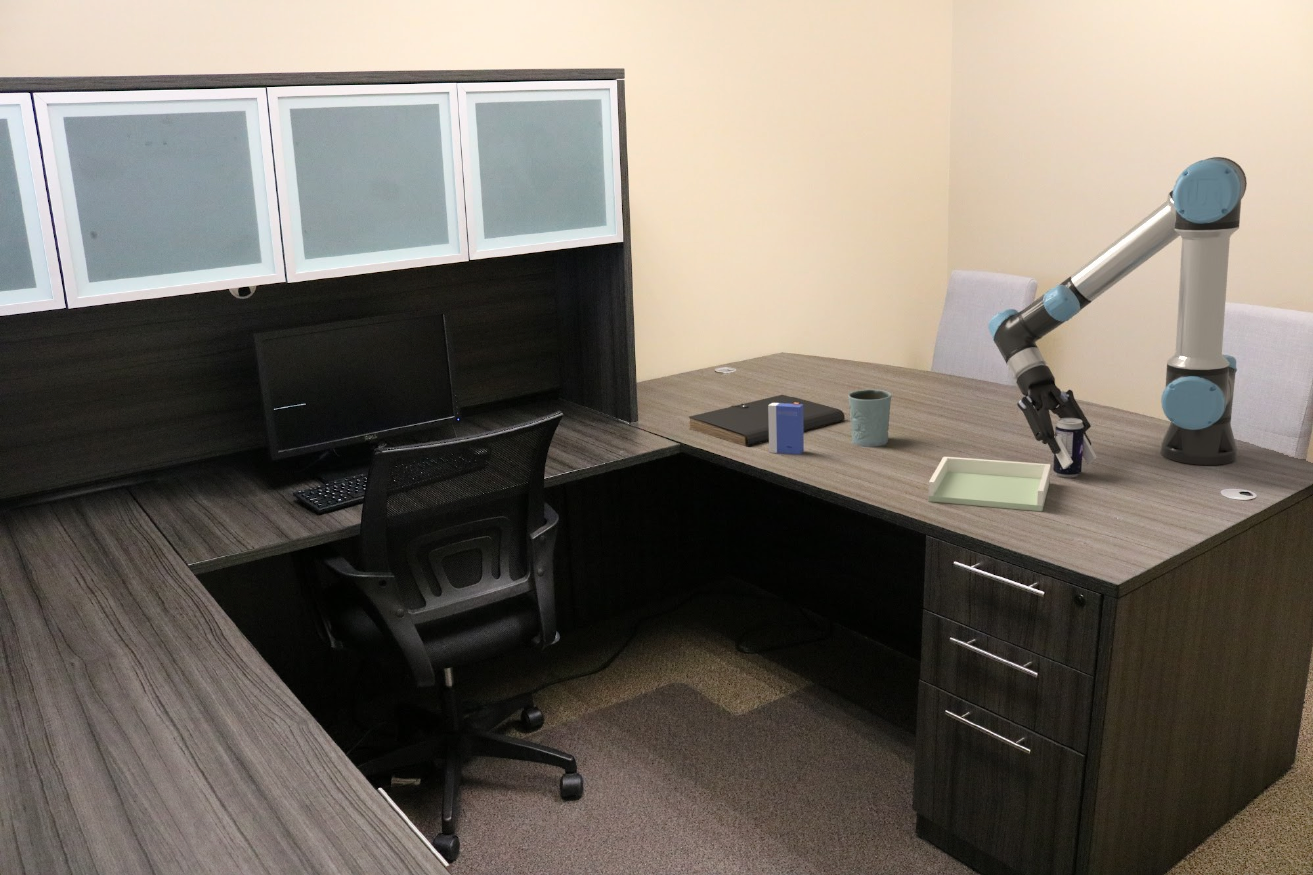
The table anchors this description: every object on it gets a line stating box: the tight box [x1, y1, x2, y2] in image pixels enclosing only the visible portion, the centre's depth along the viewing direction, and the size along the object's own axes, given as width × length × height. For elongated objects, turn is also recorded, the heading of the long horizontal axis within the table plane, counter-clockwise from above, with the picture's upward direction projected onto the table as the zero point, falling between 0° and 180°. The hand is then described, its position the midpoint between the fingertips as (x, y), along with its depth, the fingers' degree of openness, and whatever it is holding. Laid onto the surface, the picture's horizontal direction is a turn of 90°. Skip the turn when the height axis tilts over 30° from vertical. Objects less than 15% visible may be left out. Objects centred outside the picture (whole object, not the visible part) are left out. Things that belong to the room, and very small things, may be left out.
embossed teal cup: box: [847, 388, 892, 448], centre depth 263 cm, size 10×10×12 cm
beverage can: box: [1052, 418, 1084, 478], centre depth 232 cm, size 6×6×12 cm
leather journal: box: [688, 394, 845, 447], centre depth 284 cm, size 33×4×24 cm
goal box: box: [927, 456, 1052, 512], centre depth 225 cm, size 22×18×4 cm
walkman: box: [768, 403, 805, 455], centre depth 258 cm, size 8×3×12 cm, turn 66°
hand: (1080, 463), depth 230 cm, fingers closed on beverage can, 6 cm apart
